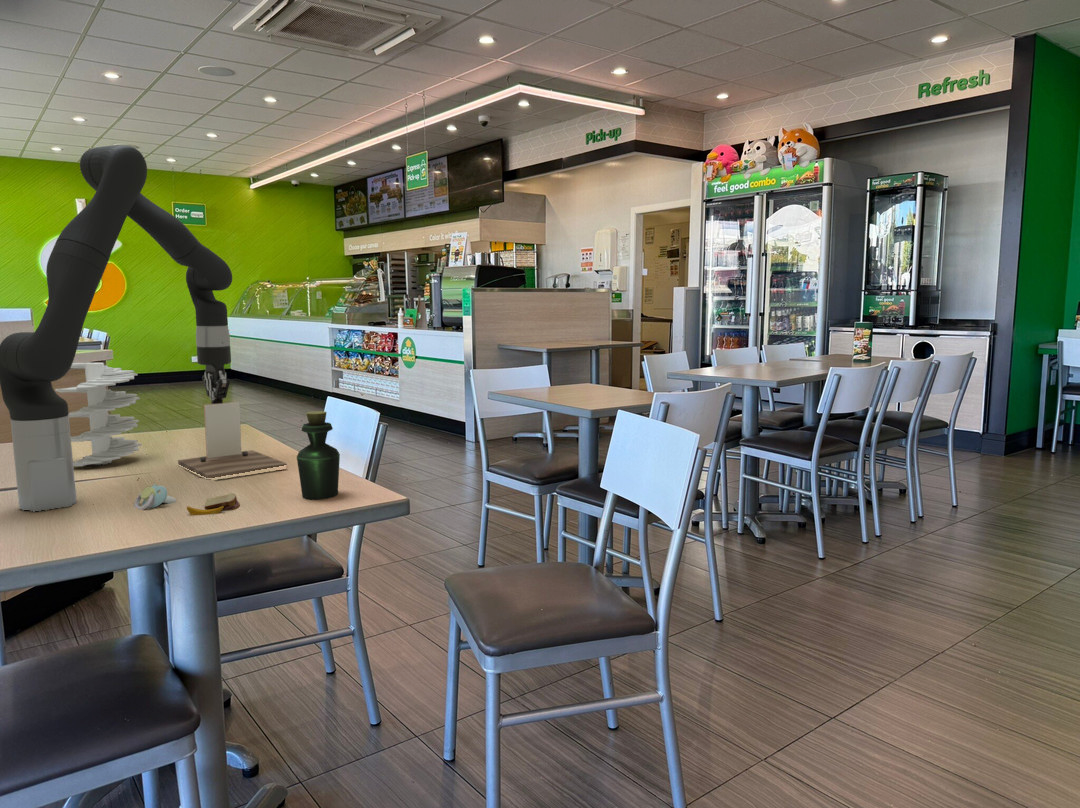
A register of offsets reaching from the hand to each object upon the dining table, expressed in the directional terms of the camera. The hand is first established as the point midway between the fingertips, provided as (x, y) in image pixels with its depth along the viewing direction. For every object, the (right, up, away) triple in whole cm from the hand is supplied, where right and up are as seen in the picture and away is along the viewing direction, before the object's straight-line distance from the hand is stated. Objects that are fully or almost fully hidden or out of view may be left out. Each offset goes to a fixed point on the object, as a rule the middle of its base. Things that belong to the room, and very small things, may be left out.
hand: (217, 414), depth 181 cm
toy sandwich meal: (+18, -19, -44) cm, 51 cm away
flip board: (+5, -13, -4) cm, 14 cm away
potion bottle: (+36, -17, -35) cm, 53 cm away
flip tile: (+2, -3, -1) cm, 4 cm away
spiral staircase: (-30, -12, +3) cm, 32 cm away
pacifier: (+5, -19, -41) cm, 45 cm away
